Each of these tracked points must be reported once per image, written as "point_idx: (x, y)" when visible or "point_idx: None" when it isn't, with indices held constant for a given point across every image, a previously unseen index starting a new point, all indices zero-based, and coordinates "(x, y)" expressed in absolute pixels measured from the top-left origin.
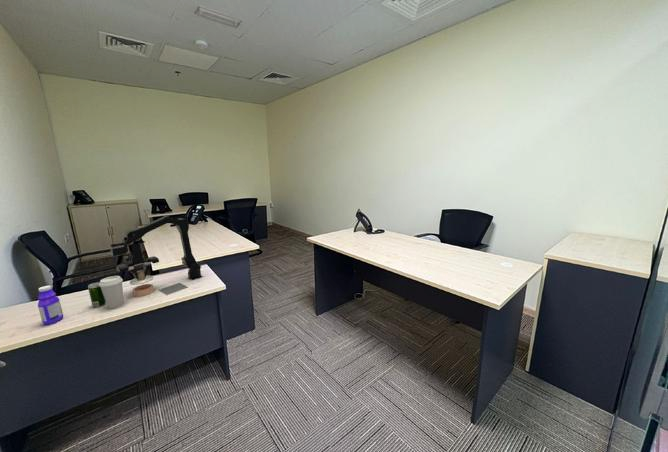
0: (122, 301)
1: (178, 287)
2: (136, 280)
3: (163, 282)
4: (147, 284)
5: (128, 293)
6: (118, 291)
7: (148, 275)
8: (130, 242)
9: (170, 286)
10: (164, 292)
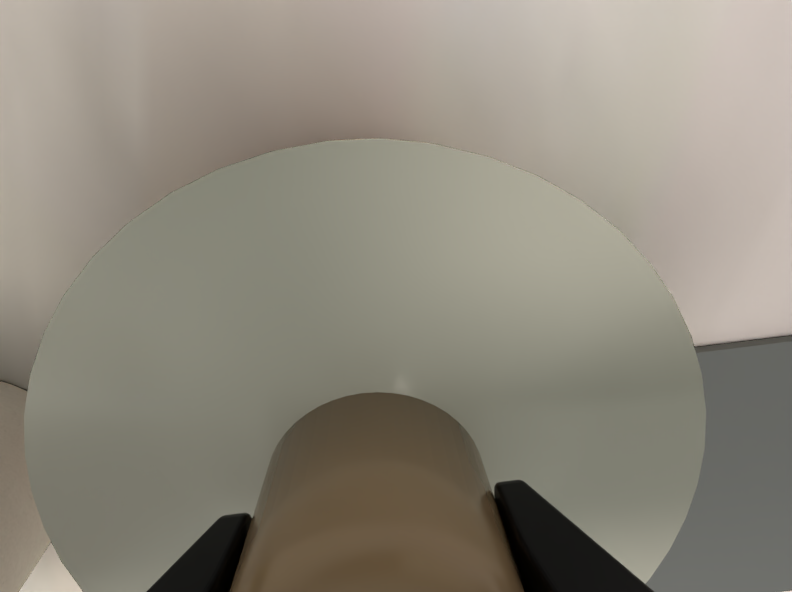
0: (45, 549)
1: (763, 504)
2: (229, 467)
3: (782, 24)
4: None
5: (147, 73)
6: None
7: (656, 274)
8: None
9: (728, 383)
10: None
